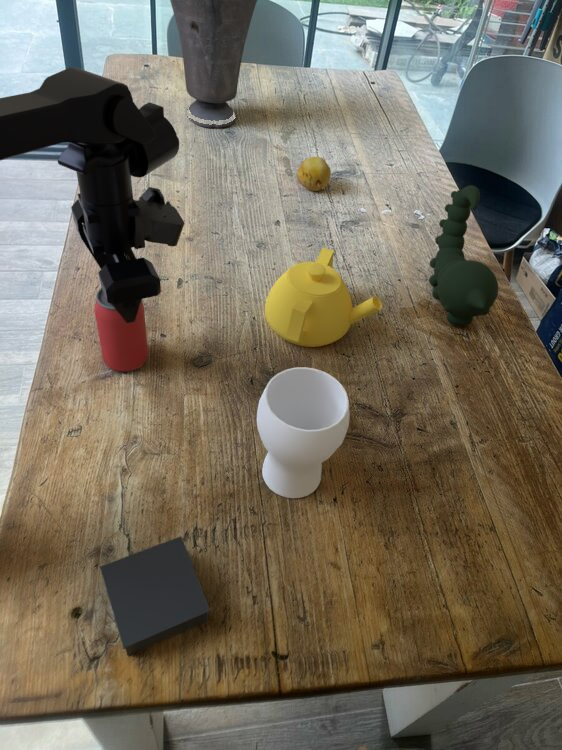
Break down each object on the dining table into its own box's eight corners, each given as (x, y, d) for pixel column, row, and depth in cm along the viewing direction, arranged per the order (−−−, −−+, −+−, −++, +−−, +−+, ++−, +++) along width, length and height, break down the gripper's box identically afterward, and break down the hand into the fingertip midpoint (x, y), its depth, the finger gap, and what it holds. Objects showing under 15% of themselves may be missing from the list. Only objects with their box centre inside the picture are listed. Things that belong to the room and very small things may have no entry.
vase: (228, 145, 136) (233, -3, 114) (149, 120, 141) (140, -27, 119) (269, 113, 150) (280, -24, 128) (196, 91, 155) (195, -44, 133)
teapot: (360, 382, 88) (376, 329, 80) (246, 349, 90) (250, 294, 82) (382, 304, 101) (398, 251, 93) (283, 277, 104) (289, 223, 96)
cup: (291, 427, 81) (305, 350, 70) (348, 476, 76) (373, 402, 65) (233, 469, 75) (239, 392, 64) (292, 525, 70) (308, 453, 60)
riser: (126, 658, 58) (123, 648, 56) (103, 579, 64) (99, 566, 61) (210, 622, 62) (210, 610, 59) (181, 549, 67) (181, 535, 65)
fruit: (339, 175, 119) (331, 151, 126) (308, 166, 117) (302, 142, 124) (326, 203, 124) (319, 179, 131) (296, 195, 122) (290, 171, 128)
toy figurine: (412, 266, 113) (438, 347, 94) (440, 171, 100) (475, 242, 82) (460, 270, 113) (494, 352, 95) (493, 176, 101) (540, 249, 82)
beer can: (93, 364, 85) (81, 301, 76) (119, 337, 89) (110, 274, 81) (133, 379, 84) (125, 317, 75) (156, 351, 88) (152, 289, 79)
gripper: (203, 225, 63) (203, 331, 74) (151, 146, 74) (158, 249, 85) (99, 243, 59) (116, 352, 70) (61, 157, 70) (81, 263, 81)
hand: (120, 299), depth 77 cm, fingers open, 9 cm apart
